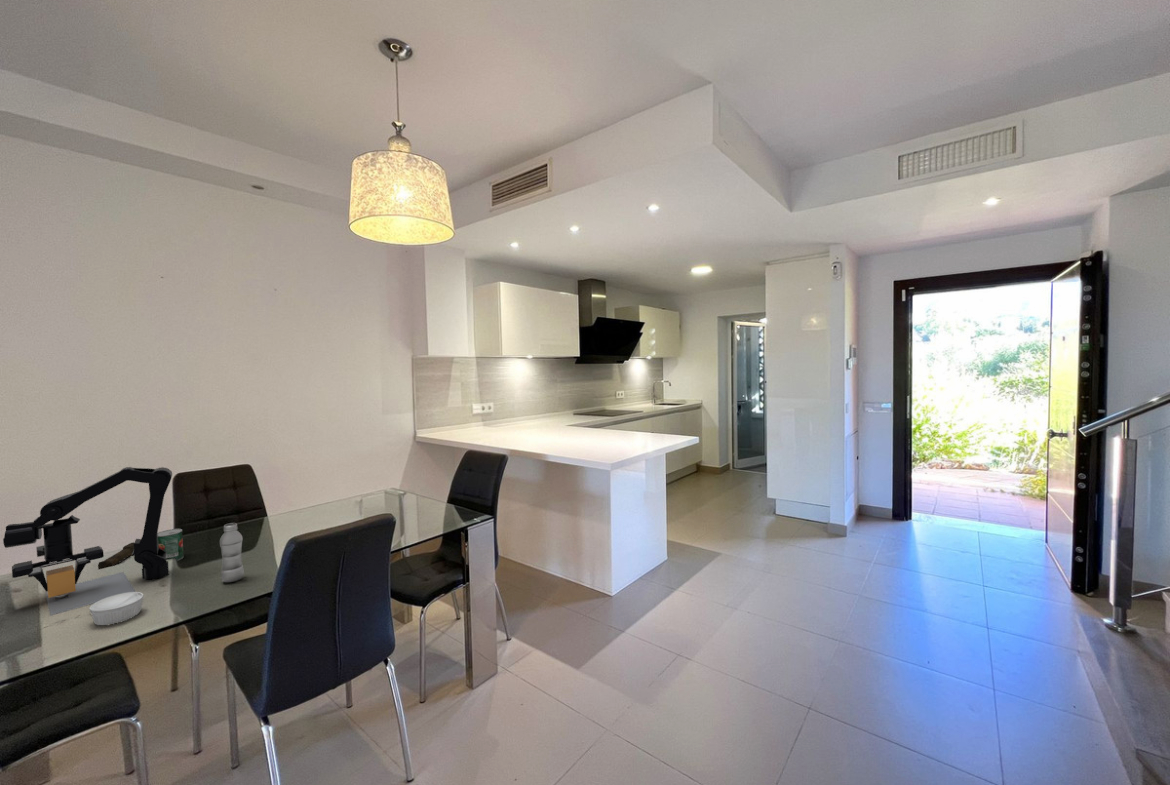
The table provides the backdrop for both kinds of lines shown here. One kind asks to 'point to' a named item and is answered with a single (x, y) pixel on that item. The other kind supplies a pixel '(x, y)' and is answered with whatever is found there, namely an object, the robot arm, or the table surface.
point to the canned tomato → (171, 543)
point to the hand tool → (117, 557)
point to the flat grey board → (90, 593)
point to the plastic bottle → (231, 554)
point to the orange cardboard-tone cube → (60, 581)
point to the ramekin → (116, 608)
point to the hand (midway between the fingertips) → (61, 587)
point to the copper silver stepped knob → (61, 596)
